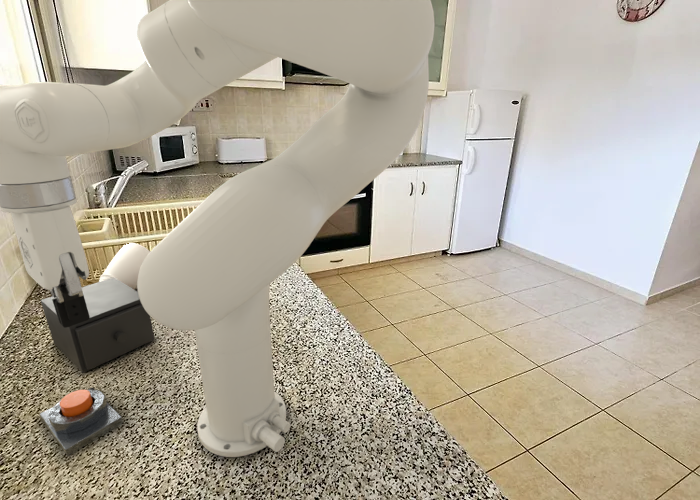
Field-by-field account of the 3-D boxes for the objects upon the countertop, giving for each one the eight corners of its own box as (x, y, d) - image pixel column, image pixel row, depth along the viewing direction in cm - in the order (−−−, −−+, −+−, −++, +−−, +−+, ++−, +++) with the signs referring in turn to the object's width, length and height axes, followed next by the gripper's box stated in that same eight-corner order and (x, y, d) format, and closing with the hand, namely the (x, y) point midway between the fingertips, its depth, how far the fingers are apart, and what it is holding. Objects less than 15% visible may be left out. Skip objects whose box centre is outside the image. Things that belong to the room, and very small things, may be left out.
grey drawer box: (154, 339, 74) (146, 296, 70) (82, 373, 64) (68, 325, 61) (123, 317, 81) (113, 277, 78) (54, 344, 72) (40, 300, 68)
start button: (97, 406, 54) (94, 396, 53) (68, 421, 51) (65, 411, 51) (87, 395, 56) (84, 385, 55) (58, 409, 53) (55, 399, 53)
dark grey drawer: (157, 341, 72) (150, 306, 69) (91, 373, 63) (80, 333, 60) (124, 318, 79) (116, 285, 76) (61, 343, 71) (49, 307, 68)
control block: (123, 423, 55) (119, 407, 53) (67, 456, 49) (61, 439, 48) (94, 392, 60) (90, 377, 59) (41, 419, 55) (35, 403, 54)
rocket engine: (65, 278, 76) (132, 234, 91) (51, 299, 83) (116, 255, 97) (110, 316, 79) (168, 268, 93) (94, 334, 86) (150, 286, 100)
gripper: (-17, 190, 48) (27, 314, 54) (14, 210, 39) (61, 355, 46) (54, 181, 53) (86, 296, 60) (94, 197, 44) (126, 329, 51)
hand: (75, 321), depth 53 cm, fingers closed
